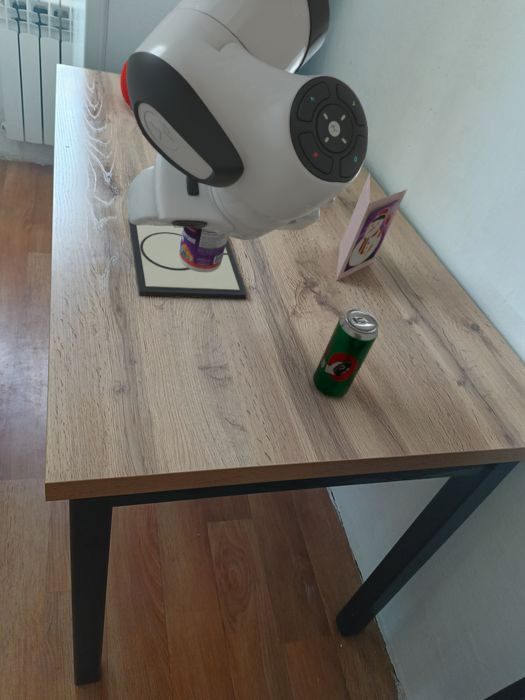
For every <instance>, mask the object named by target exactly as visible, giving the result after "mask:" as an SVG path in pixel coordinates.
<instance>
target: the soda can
mask: <svg viewBox="0 0 525 700" xmlns="http://www.w3.org/2000/svg"><path fill="white" fill-rule="evenodd" d="M334 327H335V328H334V329H333V331H332V334H331V336H330V337H329V341H328V343H327V345H326V347H325V349H324V351H323V354H322V355H321V358H320V361H319V362H318V365H317V366H316V369H315V371H314V373H313V377H312V382H313V384H314V386H315V388H316V389H317V390H318V392H320V393H321V394H322V395H324V396H326V397H329V398H341V397H343V396H345V395H347V393H348V392H349V390H350V388H351V387H352V384H353V383H354V381H355V379H356V377H357V375H358V373H359V371H360V369H361V368H362V366H363V364H364V362H365V360H366V359H367V356H368V355H369V353H370V350H371V349H372V347H373V345H374V343H375V342H376V340H377V337H378V335H379V331H378V329H379V322H378V320H377V319H376V318H375V316H374V315H372V314H371V313H369V312H368V311H366V310H363V309H359V308H350V309H347V310H346V311H345V312H344V314H342V315H341V316H340V317H339V318H338V321H337V322H336V324H335V326H334Z"/></svg>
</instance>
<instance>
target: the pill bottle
mask: <svg viewBox="0 0 525 700" xmlns="http://www.w3.org/2000/svg"><path fill="white" fill-rule="evenodd" d="M228 237H229V236H228V235H226V234H220V233H216V232H213V231H209V230H206V229H201V228H193V227H186V228H183V232H182V238H181V244H180V249H179V259H180V261H181V262H182V264H183V265H185V266H186V267H187V268H189V269H191V270H193V271H197V272H212V271H215V270H217V269H218V268H219V267H220V265H221V262H222V258H223V255H224V250H225V246H226V242H227V239H228Z"/></svg>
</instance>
